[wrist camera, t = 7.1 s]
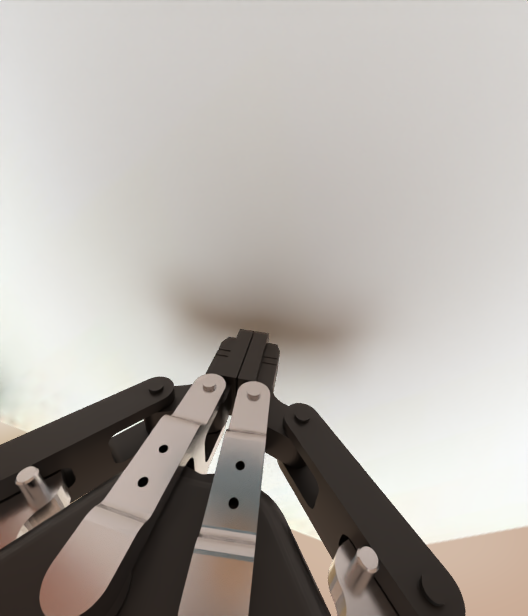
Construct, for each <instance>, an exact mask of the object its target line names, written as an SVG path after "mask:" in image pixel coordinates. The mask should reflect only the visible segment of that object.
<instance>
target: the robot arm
mask: <svg viewBox="0 0 528 616" xmlns="http://www.w3.org/2000/svg"><path fill="white" fill-rule="evenodd" d="M268 340H269V334H268V333H262V332H256V331H255V332H254V331H249V330H243V329H240V331H239V333H238V335H237V337H236V338H233V337H228V338H227V339H226V340H224V341H223V342H222V343H221V345H220V347H219V350H218V351H217V353H216V355H215V357H214V359H213V361H212V363H211V365H210V366H209V368H208V370H207V372H206V374H205V375H202V376H200V377H198V378H197V379H196V380H195V381H194V383H193V384H191V385H183V386H174V384H173V382H172V381H171V380H170V379H169V378H166V377H154V378H151V379H148V380H146V381H144V382H142V383H139V384H137V385H135V386H133V387H130V388H128V389H126V390H123V391H121V392H119V393H117V394H114V395H112V396H110V397H108V398H105V399H103V400H101V401H99V402H96V403H94V404H92V405H89V406H87V407H85V408H83V409H80V410H78V411H76V412H74V413H71V414H69V415H67V416H65V417H62V418H60V419H58V420H56V421H53V422H51V423H49V424H46V425H44V426H42V427H40V428H37V429H35V430H33V431H31V432H28V433H26V434H24V435H22V436H20V437H17V438H15V439H13V440H10V441H8V442H6V443H4V444H1V445H0V616H331V614H330V612H329V610H328V608H327V606H326V604H325V602H324V600H323V597H322V595H321V593H320V591H319V589H318V587H317V585H316V583H315V580H314V579H313V576H312V574H311V572H310V570H309V568H308V566H307V564H306V561H305V559H304V558H303V555H302V553H301V551H300V549H299V547H298V544H297V542H296V540H295V538H294V536H293V534H292V532H291V530H290V528H289V525H288V523H287V521H286V519H285V517H284V515H283V513H282V512H281V510H280V509H279V507H278V506H277V504H276V503H275V502H274V501H273V500H272V499H271V498H270V497H269V496H268V495H267V494H266V493H264V492H263V491H261V483H262V473H263V463H264V454H265V452H266V453H268V454H269V455H271V456H273V457H274V458H276V459H277V462H278V465H279V467H280V469H281V470H282V472H283V474H284V476H285V477H286V479H287V481H288V482H289V484H290V486H291V488H292V489H293V491H294V493H295V495H296V496H297V498H298V500H299V502H300V503H301V505H302V507H303V509H304V510H305V512H306V514H307V516H308V517H309V519H310V521H311V523H312V524H313V526H314V528H315V530H316V531H317V533H318V535H319V536H320V538H321V540H322V542H323V543H324V545H325V547H326V549H327V550H328V552H329V554H330V556H331V557H332V559H333V561H332V564H331V566H330V568H329V572H328V585H329V589H330V593H331V596H332V598H333V601H334V603H335V607H336V610H337V616H465V605H464V601H463V597H462V594H461V592H460V590H459V588H458V586H457V584H456V582H455V581H454V579H453V578H452V576H451V575H450V574H449V572H448V571H447V570H446V569H445V567H444V566H443V565H442V564H441V563H440V561H439V560H438V559H437V558H436V557H435V555H434V554H433V553H432V552H431V550H430V549H429V548H428V547H427V546H426V544H425V543H424V542H423V541H422V539H421V538H420V537H419V536H418V535H417V533H416V532H415V531H414V530H413V528H412V527H411V526H410V525H409V524H408V522H407V521H406V520H405V519H404V518H403V516H402V515H401V514H400V513H399V511H398V510H397V509H396V508H395V507H394V505H393V504H392V503H391V502H390V501H389V499H388V498H387V497H386V496H385V494H384V493H383V492H382V491H381V490H380V488H379V487H378V486H377V485H376V483H375V482H374V481H373V480H372V479H371V477H370V476H369V475H368V474H367V473H366V471H365V470H364V469H363V468H362V466H361V465H360V464H359V463H358V462H357V460H356V459H355V458H354V457H353V456H352V454H351V453H350V452H349V451H348V449H347V448H346V447H345V446H344V445H343V443H342V442H341V441H340V440H339V438H338V437H337V436H336V435H335V434H334V432H333V431H332V430H331V429H330V428H329V426H328V425H327V424H326V423H325V421H324V420H323V419H322V418H321V417H320V415H319V414H318V413H317V412H316V411H315V410H314V409H313V408H312V407H310V406H309V405H306V404H302V403H295V404H292V405H290V406H287V405H285V404H283V403H281V402H280V401H279V400H278V399H277V398H276V397H275V396H274V394H273V392H274V386H275V381H276V376H277V369H278V362H279V354H280V351H279V348H278V346H277V345H276V344H270V343H268ZM229 415H232V417H231V421H230V425H229V428H228V429H227V430H226V432H225V435H224V439H223V443H222V447H221V451H220V455H219V459H218V463H217V467H216V471H215V474H207V471H208V468H209V466H210V463H211V461H212V459H213V456H214V454H215V452H216V449H217V447H218V445H219V443H220V440H221V438H222V436H223V433H224V431H225V424H226V422H227V419H228V416H229ZM143 419H144V421H142V422H141V423H139V424H137V425H135V426H133V427H131V428H129V429H127V430H125V431H123V432H122V433H120V434H118V435H116V436H114V437H112V436H113V435H115V434H116V433H118V432H120V431H122V430H123V429H125V428H127V427H129V426H131V425H133V424H135V423H137V422H139V421H141V420H143ZM111 437H112V438H111ZM91 490H92V491H91ZM86 493H87V494H86ZM83 495H84V496H83ZM81 496H82V497H81ZM80 497H81V498H80ZM78 498H79V499H78ZM77 499H78V500H77ZM75 500H76V501H75ZM73 501H75V502H73ZM71 502H73V503H71ZM70 503H71V504H70ZM69 504H70V505H69Z"/></svg>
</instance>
